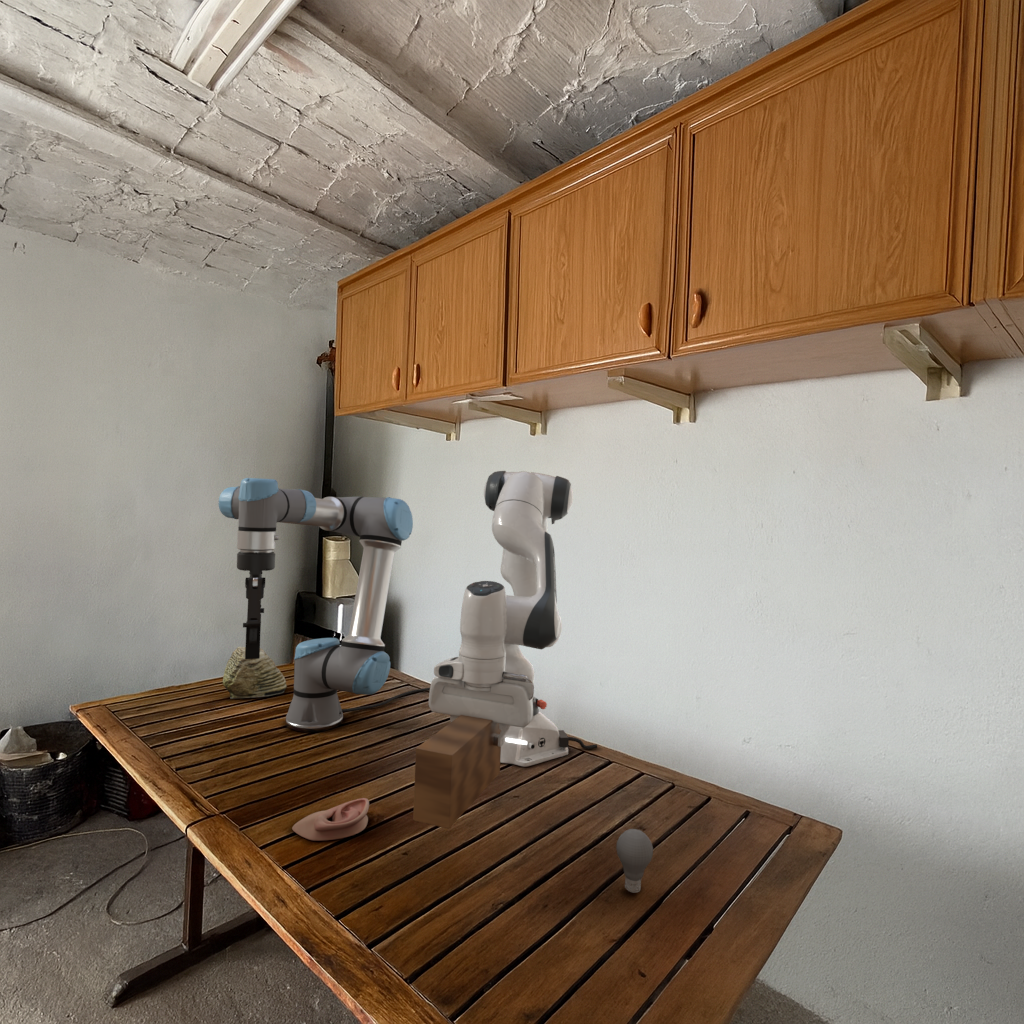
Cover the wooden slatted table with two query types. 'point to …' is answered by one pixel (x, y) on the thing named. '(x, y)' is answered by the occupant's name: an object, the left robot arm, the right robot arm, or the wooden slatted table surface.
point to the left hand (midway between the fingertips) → (252, 650)
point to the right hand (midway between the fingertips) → (478, 741)
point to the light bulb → (634, 857)
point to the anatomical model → (335, 821)
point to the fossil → (252, 676)
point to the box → (454, 769)
